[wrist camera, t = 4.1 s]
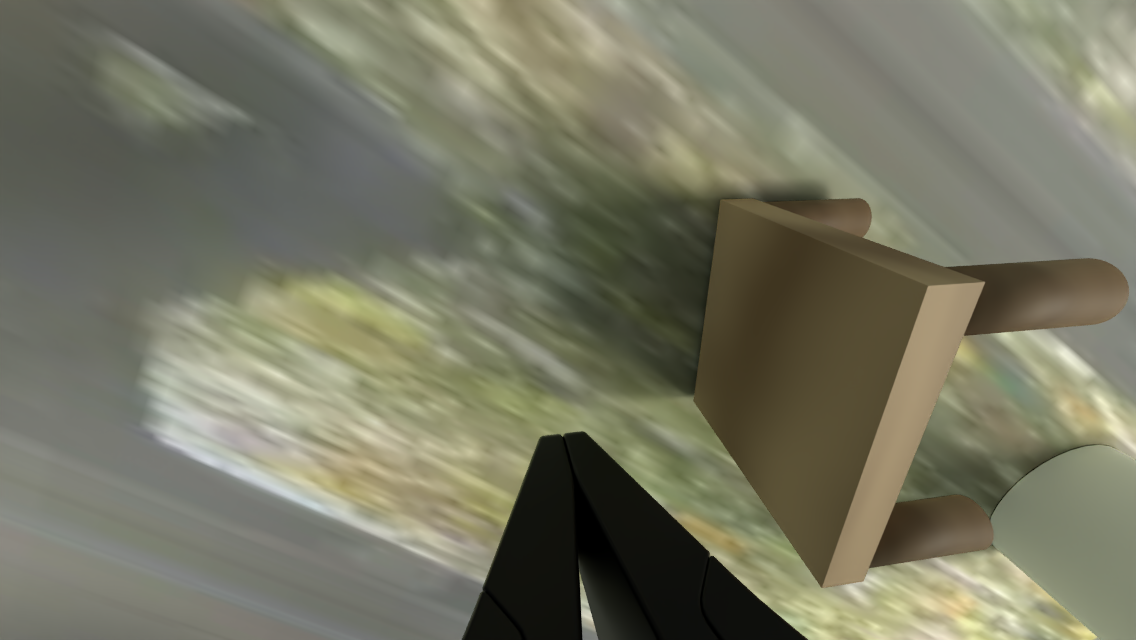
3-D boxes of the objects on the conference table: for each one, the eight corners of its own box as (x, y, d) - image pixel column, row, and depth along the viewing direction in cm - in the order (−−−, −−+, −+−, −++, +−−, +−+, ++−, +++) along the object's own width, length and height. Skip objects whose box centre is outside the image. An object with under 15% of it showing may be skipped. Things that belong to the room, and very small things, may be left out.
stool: (1144, 271, 7) (928, 286, 7) (981, 562, 10) (821, 587, 10) (846, 194, 14) (720, 199, 13) (797, 390, 17) (693, 400, 16)
